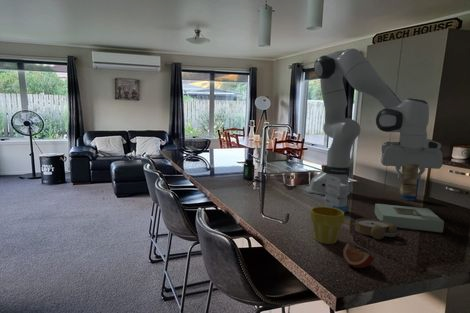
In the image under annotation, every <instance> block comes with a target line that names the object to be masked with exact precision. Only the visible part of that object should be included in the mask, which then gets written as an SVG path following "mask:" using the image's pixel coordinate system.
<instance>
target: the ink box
mask: <svg viewBox="0 0 470 313" xmlns="http://www.w3.org/2000/svg"><path fill="white" fill-rule="evenodd" d="M331 179H334V180H336V181H332V180H331ZM324 196H325V197H324V207H331V208H336V209H339V210H341V211H343V212H344V213H347V209H348V208H347V206H348V196H349V195H348V185H345V184H342V183H341V179H340V178H336V177H333V176H329V175H327V182H326V194H325V195H324Z"/></svg>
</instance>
